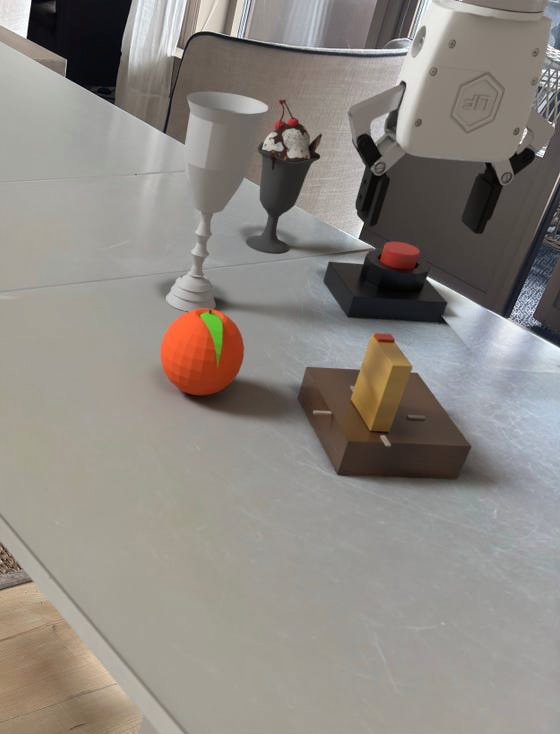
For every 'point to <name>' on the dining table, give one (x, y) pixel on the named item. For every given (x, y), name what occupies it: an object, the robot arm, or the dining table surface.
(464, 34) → the robot arm
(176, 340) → the clementine
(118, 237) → the dining table surface
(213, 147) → the chalice
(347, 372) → the plate
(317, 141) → the sundae
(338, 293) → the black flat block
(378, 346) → the thumbturn
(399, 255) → the bell button
